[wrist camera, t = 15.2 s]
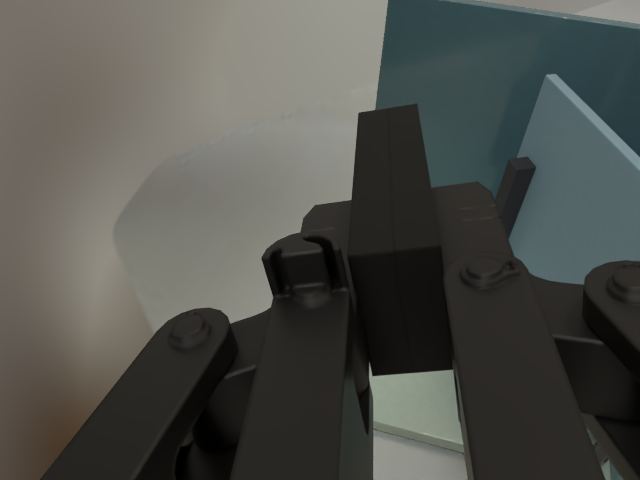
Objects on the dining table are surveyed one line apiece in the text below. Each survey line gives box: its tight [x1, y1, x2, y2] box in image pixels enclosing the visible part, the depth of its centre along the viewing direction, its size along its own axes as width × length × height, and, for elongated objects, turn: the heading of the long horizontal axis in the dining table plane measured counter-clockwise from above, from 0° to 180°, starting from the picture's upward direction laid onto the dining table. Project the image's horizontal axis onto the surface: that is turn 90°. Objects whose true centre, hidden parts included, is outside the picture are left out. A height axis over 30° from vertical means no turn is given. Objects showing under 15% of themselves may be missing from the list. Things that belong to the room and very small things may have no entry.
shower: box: [369, 0, 640, 480], centre depth 32 cm, size 18×16×19 cm
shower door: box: [495, 74, 640, 439], centre depth 31 cm, size 13×2×16 cm, turn 14°
